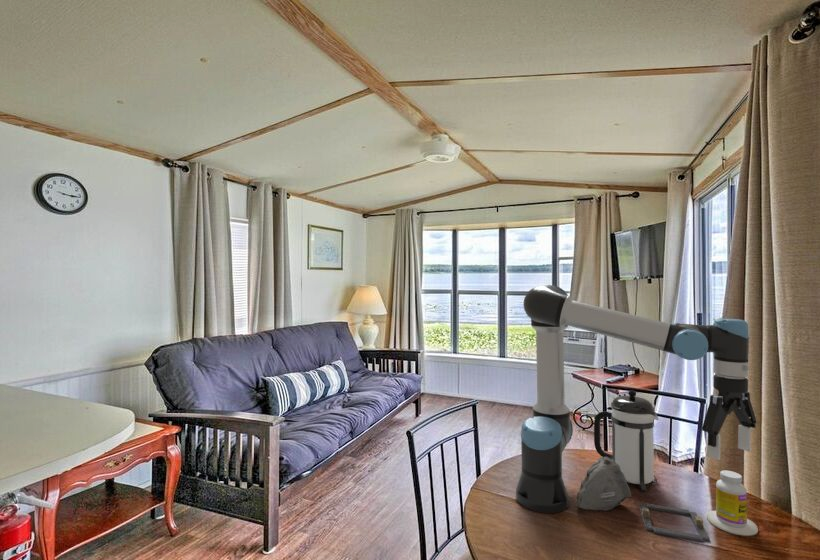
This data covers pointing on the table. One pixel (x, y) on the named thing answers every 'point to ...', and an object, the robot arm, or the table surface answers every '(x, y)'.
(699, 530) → the grey square frame
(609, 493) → the decorative rock
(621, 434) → the coffee press
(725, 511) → the supplement bottle
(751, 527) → the coaster
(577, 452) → the table surface
